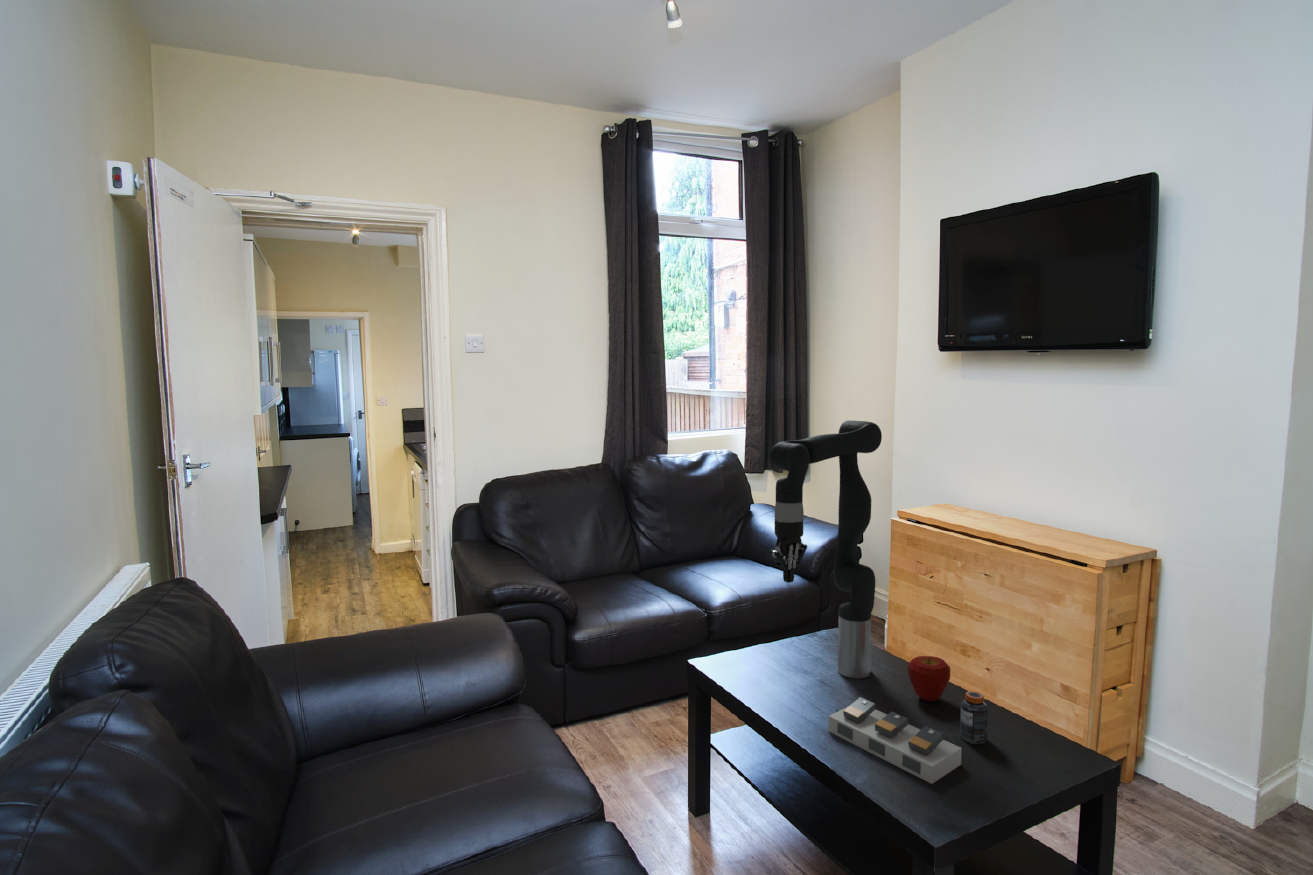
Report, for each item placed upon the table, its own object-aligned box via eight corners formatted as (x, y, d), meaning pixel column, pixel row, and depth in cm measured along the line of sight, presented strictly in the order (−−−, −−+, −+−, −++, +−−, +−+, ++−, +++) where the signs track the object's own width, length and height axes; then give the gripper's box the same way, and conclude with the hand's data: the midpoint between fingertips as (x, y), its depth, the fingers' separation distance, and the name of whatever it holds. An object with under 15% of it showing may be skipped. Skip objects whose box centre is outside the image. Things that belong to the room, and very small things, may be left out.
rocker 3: (925, 731, 159) (925, 724, 159) (943, 739, 156) (942, 732, 156) (909, 747, 156) (908, 741, 155) (926, 756, 152) (925, 749, 152)
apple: (927, 686, 194) (928, 645, 193) (958, 703, 185) (960, 660, 184) (898, 694, 190) (899, 653, 189) (928, 712, 180) (930, 667, 179)
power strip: (851, 713, 180) (852, 696, 179) (961, 764, 156) (961, 745, 156) (821, 728, 172) (822, 711, 172) (931, 784, 149) (932, 764, 148)
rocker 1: (860, 702, 174) (860, 696, 173) (875, 709, 170) (874, 702, 170) (843, 716, 170) (843, 710, 169) (858, 723, 166) (857, 717, 166)
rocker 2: (892, 717, 167) (891, 710, 166) (908, 724, 163) (908, 717, 163) (875, 730, 163) (874, 723, 162) (891, 738, 159) (890, 731, 159)
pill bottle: (985, 734, 169) (986, 690, 168) (988, 746, 163) (990, 701, 162) (958, 730, 171) (960, 687, 170) (961, 742, 165) (962, 697, 164)
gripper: (794, 512, 188) (793, 573, 189) (761, 519, 179) (761, 583, 181) (816, 516, 182) (815, 580, 184) (783, 524, 174) (782, 590, 175)
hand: (788, 581), depth 182 cm, fingers closed
